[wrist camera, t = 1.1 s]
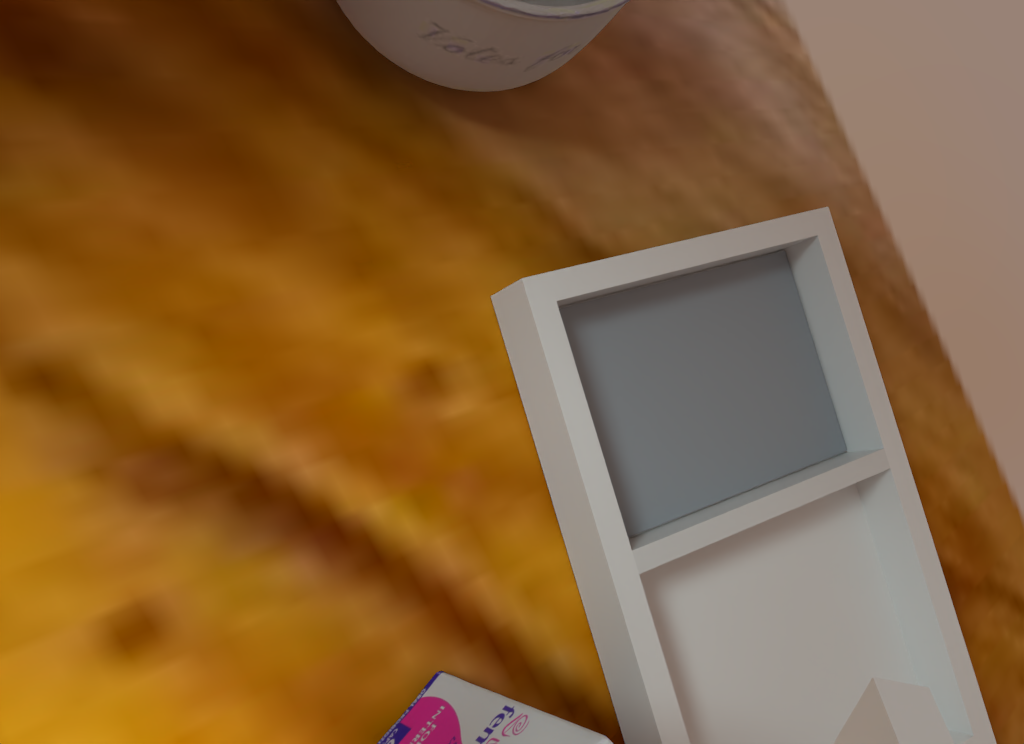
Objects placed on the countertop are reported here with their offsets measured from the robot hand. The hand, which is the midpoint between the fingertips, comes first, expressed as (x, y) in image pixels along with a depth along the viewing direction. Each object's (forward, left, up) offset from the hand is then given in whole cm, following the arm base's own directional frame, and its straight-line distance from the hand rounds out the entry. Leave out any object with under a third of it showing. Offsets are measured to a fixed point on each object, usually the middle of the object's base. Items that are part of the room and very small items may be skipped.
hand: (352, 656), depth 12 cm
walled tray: (+5, +19, -18) cm, 26 cm away
